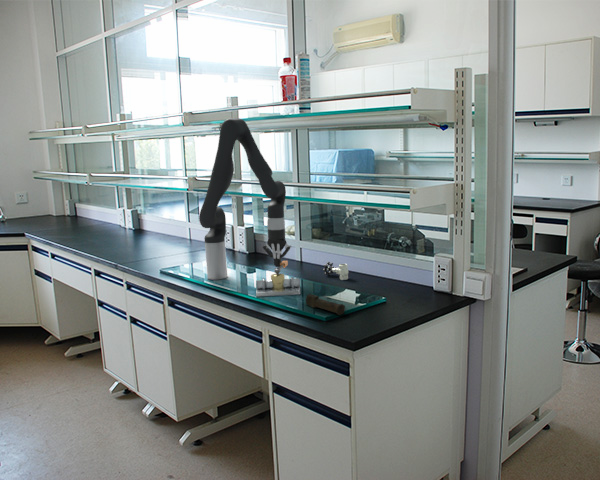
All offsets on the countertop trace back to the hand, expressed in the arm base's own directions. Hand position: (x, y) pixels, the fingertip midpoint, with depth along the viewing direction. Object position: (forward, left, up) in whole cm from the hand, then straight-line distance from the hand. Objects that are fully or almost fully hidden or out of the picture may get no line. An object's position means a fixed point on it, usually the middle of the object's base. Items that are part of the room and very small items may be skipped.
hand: (277, 266), depth 241 cm
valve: (-5, +27, -8) cm, 28 cm away
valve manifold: (+13, 0, -8) cm, 15 cm away
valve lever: (+7, +2, 0) cm, 7 cm away
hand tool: (+40, +17, -8) cm, 44 cm away
